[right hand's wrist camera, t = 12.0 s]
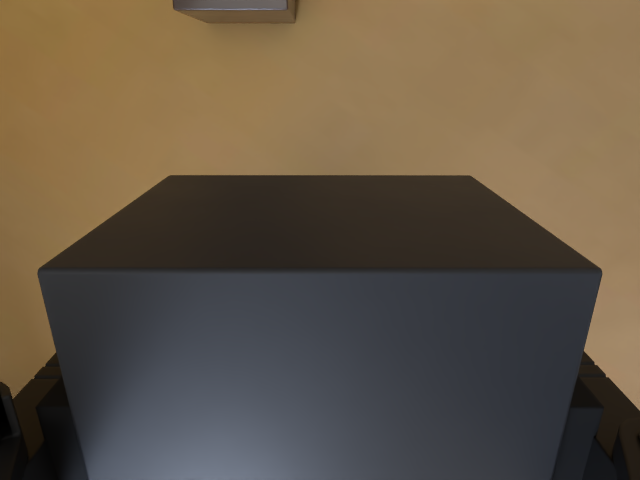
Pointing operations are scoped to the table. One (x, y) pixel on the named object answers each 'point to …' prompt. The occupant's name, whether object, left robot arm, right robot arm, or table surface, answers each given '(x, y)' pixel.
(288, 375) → the cap block
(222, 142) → the table surface
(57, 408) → the right robot arm
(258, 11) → the dark wooden beam
